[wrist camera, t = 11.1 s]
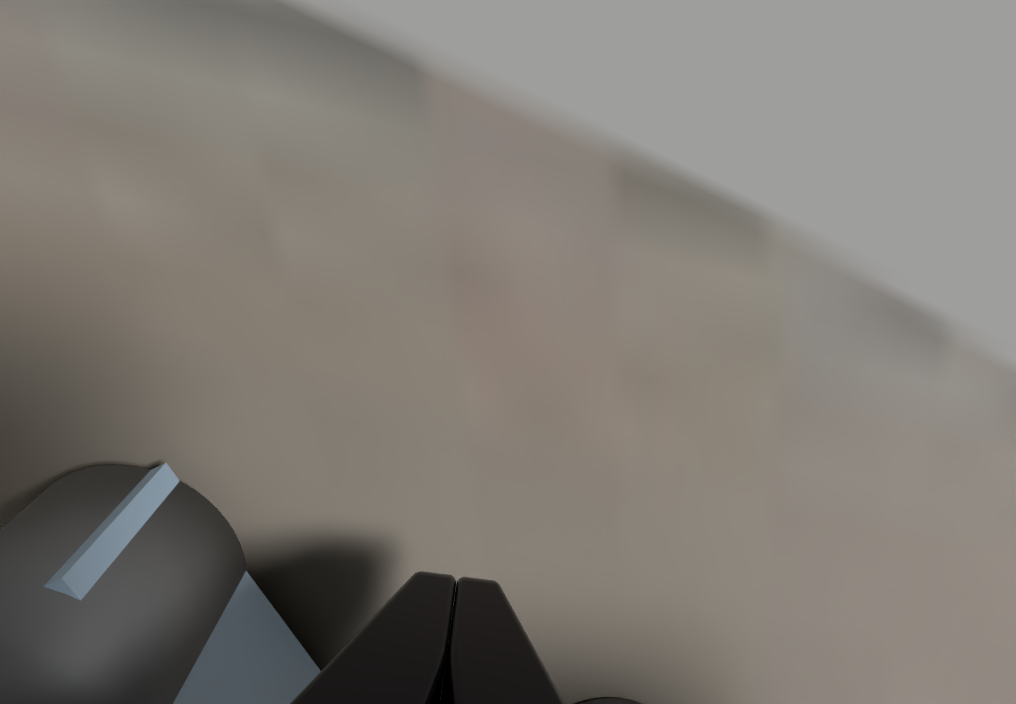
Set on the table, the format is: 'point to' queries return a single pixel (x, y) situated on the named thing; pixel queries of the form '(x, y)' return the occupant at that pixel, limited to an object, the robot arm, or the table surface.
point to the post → (610, 701)
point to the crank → (136, 600)
